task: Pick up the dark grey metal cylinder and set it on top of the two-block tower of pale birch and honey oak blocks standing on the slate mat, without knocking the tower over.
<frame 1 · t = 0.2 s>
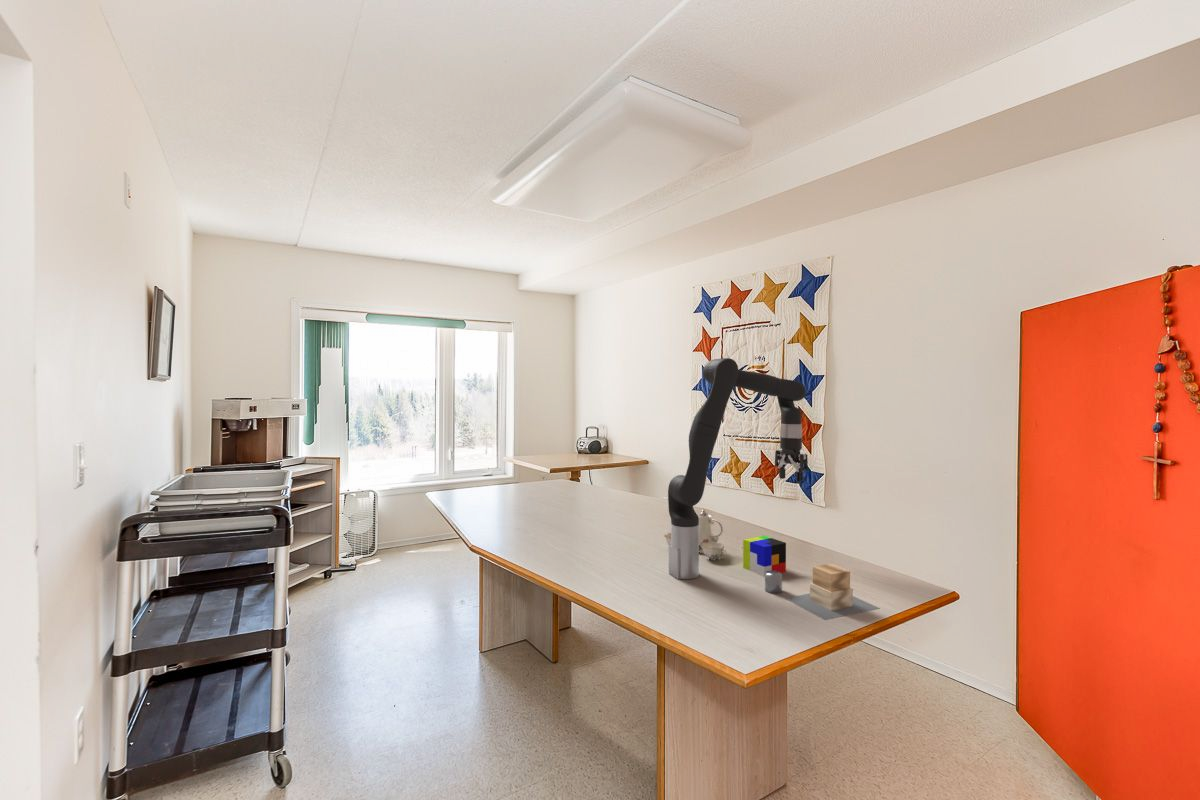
hand: (790, 480, 196), 29 cm above the table, tool pointing down, fingers open, 8 cm apart
base block: (831, 603, 155), point 1 cm above the table, touching slate mat, top block
chinaware: (698, 552, 206), on the table
top block: (831, 586, 155), point 6 cm above the table, touching base block
puzzle toy: (764, 570, 185), on the table
slate mat: (831, 605, 155), on the table
metal cylinder: (773, 592, 164), on the table
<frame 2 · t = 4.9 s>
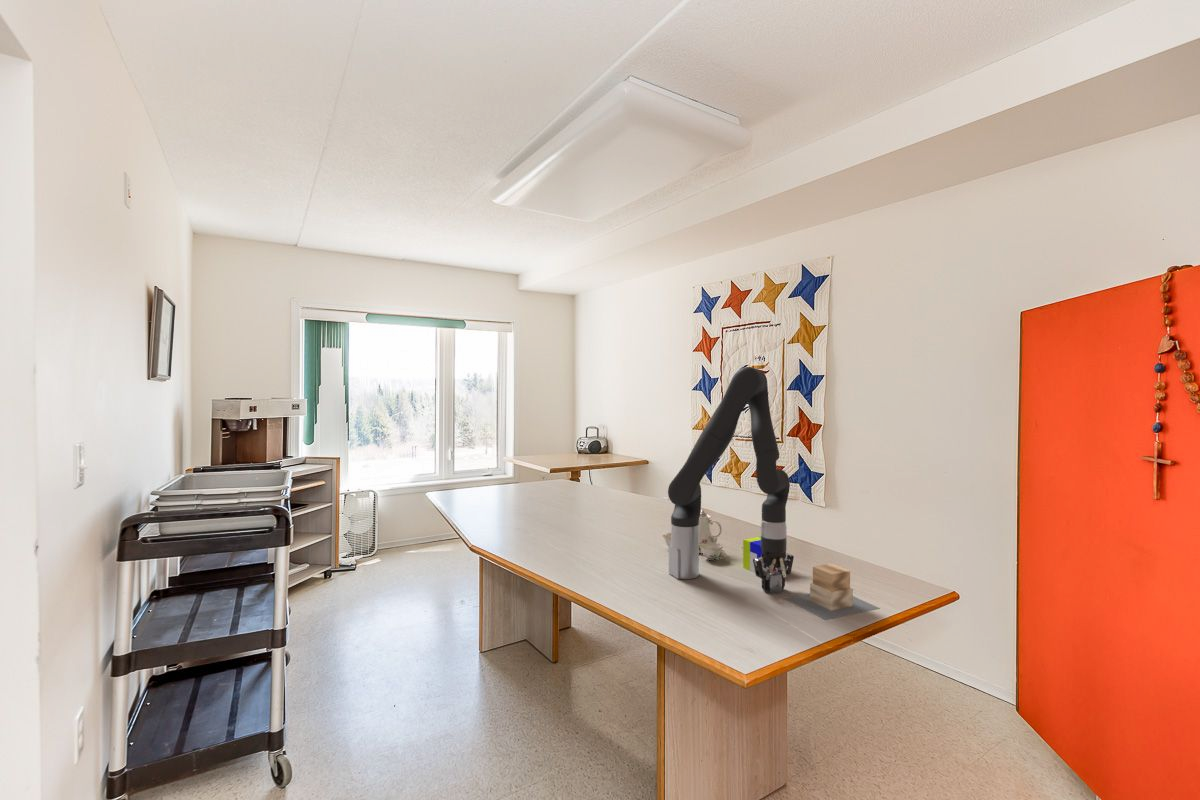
hand: (773, 589, 164), 1 cm above the table, tool pointing down, fingers closed on metal cylinder, 5 cm apart
metal cylinder: (773, 592, 164), on the table, touching gripper
everything else where it was.
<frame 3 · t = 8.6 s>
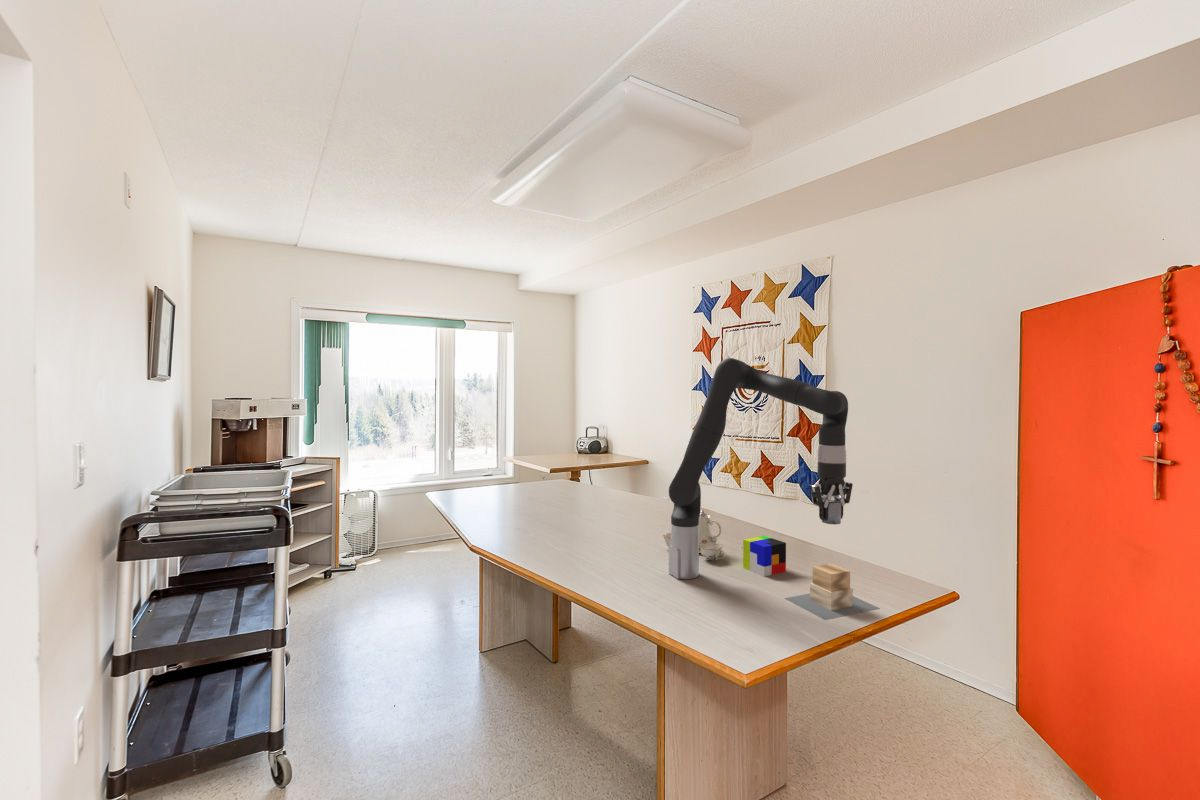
hand: (831, 518, 154), 25 cm above the table, tool pointing down, fingers closed on metal cylinder, 5 cm apart
metal cylinder: (831, 522, 154), point 24 cm above the table, touching gripper
everything else where it was.
when the fingers open (13 cm above the table, at t = 12.6 s): metal cylinder drops 1 cm, resting on top block.
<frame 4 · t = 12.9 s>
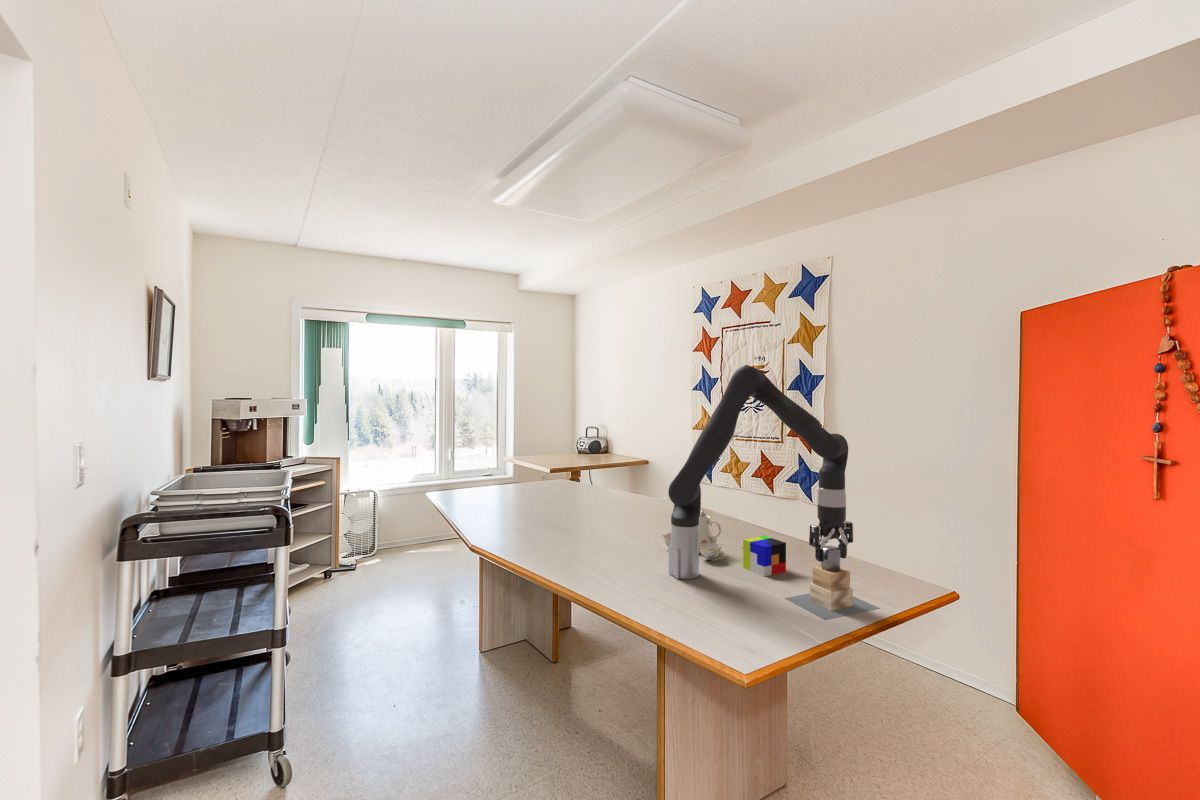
hand: (831, 559, 154), 13 cm above the table, tool pointing down, fingers open, 8 cm apart
top block: (831, 586, 155), point 6 cm above the table, touching base block, metal cylinder
metal cylinder: (830, 568, 154), point 11 cm above the table, touching top block
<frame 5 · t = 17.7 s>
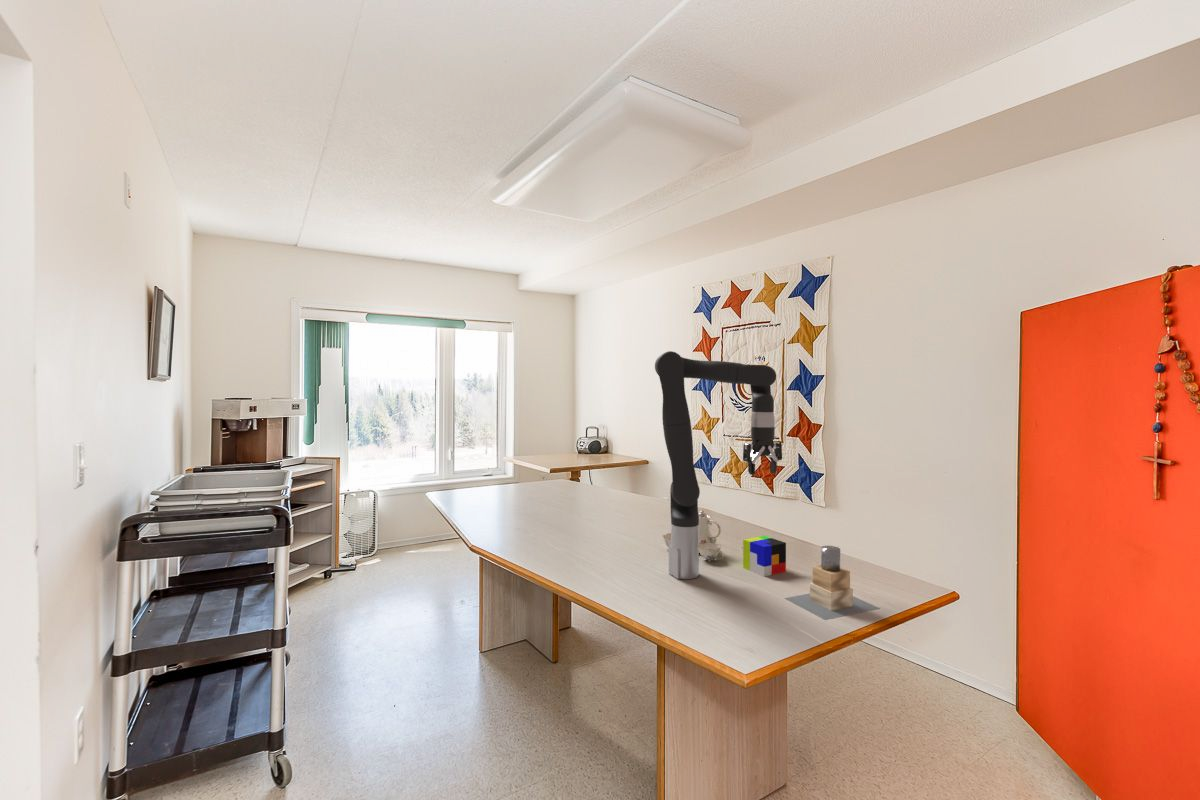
hand: (762, 473, 179), 34 cm above the table, tool pointing down, fingers open, 8 cm apart
at the end: metal cylinder 0.1 cm off-centre on the top block, point 5.0 cm above the top block's base; top block 0.0 cm off-centre on the base block, point 5.0 cm above the base block's base; metal cylinder tilted 0° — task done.
